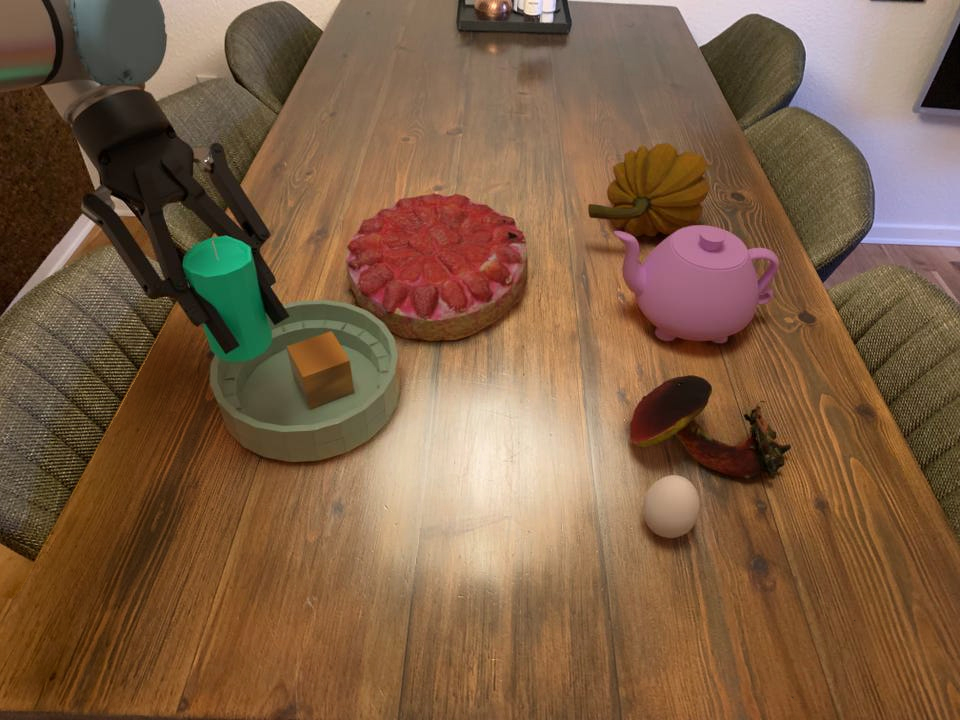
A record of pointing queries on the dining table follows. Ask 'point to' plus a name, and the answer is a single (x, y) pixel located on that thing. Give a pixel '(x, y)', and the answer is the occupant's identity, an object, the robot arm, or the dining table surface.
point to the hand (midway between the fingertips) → (257, 334)
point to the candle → (230, 294)
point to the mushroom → (675, 414)
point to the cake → (437, 266)
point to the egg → (671, 506)
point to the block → (321, 369)
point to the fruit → (655, 191)
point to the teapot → (698, 283)
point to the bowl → (279, 403)
